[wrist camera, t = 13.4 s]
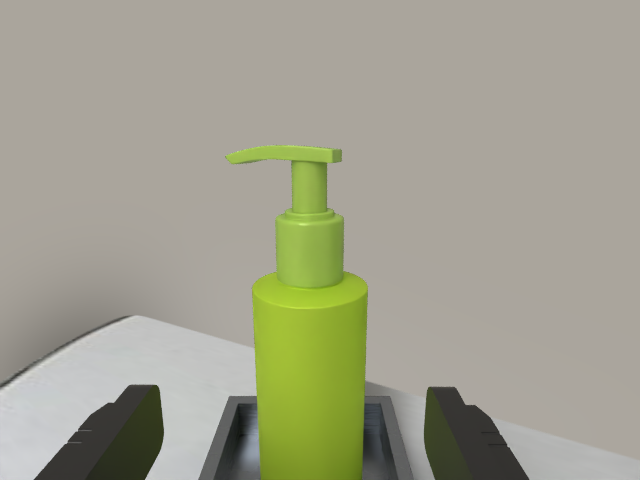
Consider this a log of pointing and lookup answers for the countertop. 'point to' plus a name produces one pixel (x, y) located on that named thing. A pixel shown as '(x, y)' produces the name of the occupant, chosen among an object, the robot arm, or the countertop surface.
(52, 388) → the countertop surface
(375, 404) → the metal tray
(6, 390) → the countertop surface
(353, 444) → the soap dispenser
